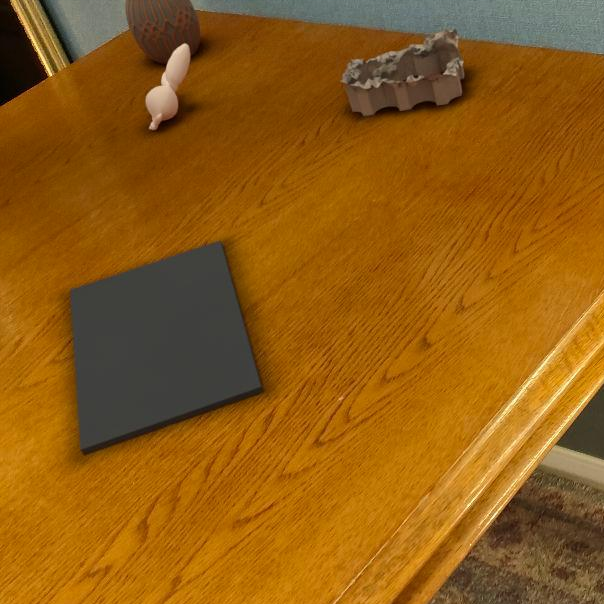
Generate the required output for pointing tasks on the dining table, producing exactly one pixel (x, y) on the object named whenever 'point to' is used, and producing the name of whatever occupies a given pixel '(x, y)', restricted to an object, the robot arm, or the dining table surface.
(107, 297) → the mat
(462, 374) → the dining table surface
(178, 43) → the vase
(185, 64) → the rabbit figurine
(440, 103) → the egg carton
